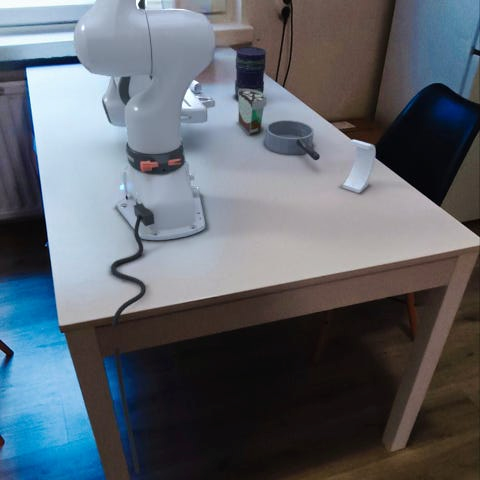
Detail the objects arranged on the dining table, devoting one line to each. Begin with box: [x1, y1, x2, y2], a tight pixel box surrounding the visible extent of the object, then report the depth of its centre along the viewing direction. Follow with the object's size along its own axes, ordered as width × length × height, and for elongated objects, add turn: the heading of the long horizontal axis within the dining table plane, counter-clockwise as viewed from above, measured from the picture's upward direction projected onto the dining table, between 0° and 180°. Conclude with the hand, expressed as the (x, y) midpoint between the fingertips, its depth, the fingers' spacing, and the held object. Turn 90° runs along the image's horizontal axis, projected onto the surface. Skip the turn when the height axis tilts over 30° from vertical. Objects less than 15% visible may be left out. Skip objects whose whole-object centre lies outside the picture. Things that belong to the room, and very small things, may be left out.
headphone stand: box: [341, 139, 376, 194], centre depth 118 cm, size 5×6×12 cm
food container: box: [237, 89, 267, 136], centre depth 144 cm, size 12×6×10 cm, turn 21°
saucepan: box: [264, 119, 315, 156], centre depth 138 cm, size 13×13×4 cm
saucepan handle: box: [297, 138, 321, 161], centre depth 129 cm, size 12×2×2 cm, turn 20°
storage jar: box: [234, 38, 267, 101], centre depth 162 cm, size 10×10×18 cm
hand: (213, 101), depth 137 cm, fingers closed
